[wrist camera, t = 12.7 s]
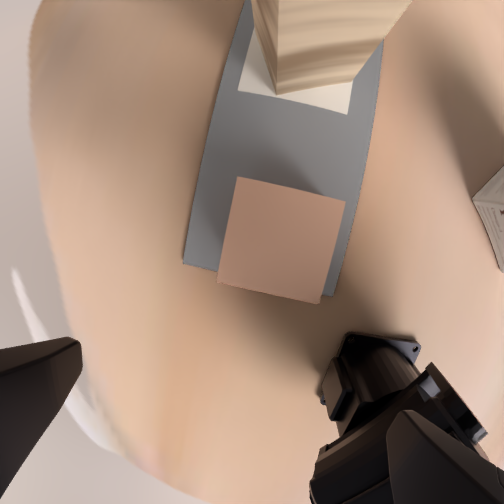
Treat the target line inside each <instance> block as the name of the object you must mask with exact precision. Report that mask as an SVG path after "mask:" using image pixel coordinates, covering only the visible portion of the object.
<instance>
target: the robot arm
mask: <svg viewBox="0 0 504 504" xmlns="http://www.w3.org/2000/svg"><path fill="white" fill-rule="evenodd" d="M350 337H354V338H353V340H351V341H348V339H349V338H350ZM414 347H416V348H415V349H414V350H413V348H414ZM420 349H421V345H420V344H419V343H418V342H417V341H411V340H404V339H397V338H390V337H383V336H377V335H371V334H365V333H359V332H353V331H351V332H347V333H346V334H345V335H344V338H343V340H342V343H341V346H340V348H339V351H338V354H337V356H336V357H334V358H333V359H332V360H331V363H330V366H329V368H328V371H327V373H326V376H325V378H324V381H323V383H322V389H323V391H322V393H321V396H320V402H321V404H322V405H326V407H327V412H328V416H329V419H330V420H331V421H336V424H337V428H338V432H339V437H340V438H338V439H337V440H335V441H334V442H332V443H331V444H326V445H325V446H323V447H322V448H320V451H319V455H318V459H317V461H316V463H315V470H314V474H313V478H312V479H311V480H310V483H309V488H310V491H309V492H310V499H311V503H312V504H504V471H503V470H502V469H500V468H498V467H496V466H495V465H494V464H492V463H491V462H489V459H488V457H487V455H486V454H485V452H484V451H483V449H482V448H481V446H480V445H479V443H478V442H479V441H481V440H482V439H483V438H484V437H485V436H486V435H487V434H488V433H487V432H486V430H485V429H484V427H483V426H482V424H481V423H480V422H479V420H478V419H477V418H476V416H475V415H474V414H473V412H472V411H471V410H470V408H469V407H468V406H467V404H466V403H465V402H464V401H463V399H462V398H461V397H460V396H459V394H458V393H457V392H456V391H455V389H454V388H453V387H452V386H451V384H450V383H449V382H448V381H447V380H446V378H445V377H444V376H443V375H442V373H441V372H440V371H439V370H438V369H437V368H436V366H435V365H434V364H433V363H432V362H431V363H430V364H429V365H428V366H427V367H426V368H425V369H426V370H425V371H424V372H423V373H420V372H419V371H418V369H417V368H416V366H415V365H414V363H415V361H416V359H417V356H418V354H419V352H420ZM82 367H83V363H82V349H81V344H80V342H79V341H78V340H75V339H73V338H71V337H63V338H58V339H53V340H48V341H42V342H37V343H32V344H27V345H21V346H16V347H11V348H5V349H0V499H1V497H2V495H3V494H4V492H5V490H6V489H7V487H8V486H9V484H10V483H11V481H12V479H13V478H14V476H15V475H16V473H17V472H18V470H19V468H20V467H21V466H22V464H23V462H24V461H25V459H26V458H27V457H28V455H29V454H30V452H31V451H32V449H33V447H34V446H35V445H36V443H37V442H38V440H39V439H40V437H41V436H42V435H43V433H44V432H45V430H46V429H47V427H48V426H49V425H50V423H51V422H52V420H53V419H54V417H55V416H56V415H57V413H58V412H59V410H60V409H61V407H62V405H63V404H64V402H65V400H66V398H67V396H68V395H69V393H70V391H71V389H72V388H73V386H74V384H75V382H76V381H77V379H78V377H79V375H80V374H81V371H82ZM324 399H325V400H324Z"/></svg>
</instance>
